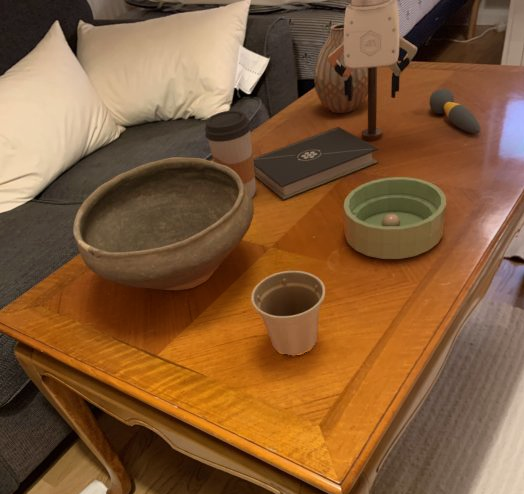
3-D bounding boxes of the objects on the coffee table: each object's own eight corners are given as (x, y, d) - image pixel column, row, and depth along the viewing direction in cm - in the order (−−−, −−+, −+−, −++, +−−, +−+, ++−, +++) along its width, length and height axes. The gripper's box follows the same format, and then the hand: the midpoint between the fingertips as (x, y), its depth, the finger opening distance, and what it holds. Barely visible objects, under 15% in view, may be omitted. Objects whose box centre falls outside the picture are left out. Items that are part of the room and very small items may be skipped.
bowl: (169, 216, 101) (147, 146, 91) (293, 241, 89) (283, 163, 79) (67, 304, 86) (27, 231, 76) (200, 349, 73) (173, 269, 63)
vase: (307, 117, 125) (299, 35, 112) (331, 95, 132) (327, 16, 120) (357, 121, 119) (355, 35, 106) (380, 98, 126) (380, 16, 114)
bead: (377, 215, 84) (378, 229, 86) (388, 223, 82) (388, 238, 84) (393, 207, 84) (393, 222, 87) (404, 216, 83) (404, 231, 85)
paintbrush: (494, 132, 105) (498, 107, 102) (472, 139, 104) (476, 114, 101) (438, 103, 119) (440, 80, 115) (419, 109, 118) (420, 86, 115)
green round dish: (441, 207, 89) (445, 175, 85) (443, 262, 79) (447, 228, 74) (350, 209, 93) (349, 178, 89) (340, 261, 83) (338, 229, 78)
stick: (386, 135, 111) (388, 64, 102) (370, 142, 110) (370, 71, 100) (373, 130, 114) (373, 61, 105) (357, 136, 113) (356, 67, 103)
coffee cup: (269, 193, 102) (257, 115, 91) (234, 210, 99) (218, 133, 88) (246, 180, 107) (232, 105, 96) (212, 196, 104) (194, 121, 94)
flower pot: (289, 309, 76) (282, 262, 70) (342, 333, 71) (340, 284, 65) (247, 348, 72) (236, 300, 66) (300, 376, 67) (293, 327, 61)
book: (338, 139, 114) (337, 126, 111) (378, 163, 104) (378, 148, 101) (250, 172, 109) (248, 159, 107) (283, 200, 99) (281, 186, 97)
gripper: (319, 6, 92) (326, 107, 104) (422, -7, 87) (416, 101, 100) (325, -5, 97) (330, 93, 109) (422, -18, 92) (417, 86, 105)
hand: (371, 96), depth 104 cm, fingers open, 8 cm apart
